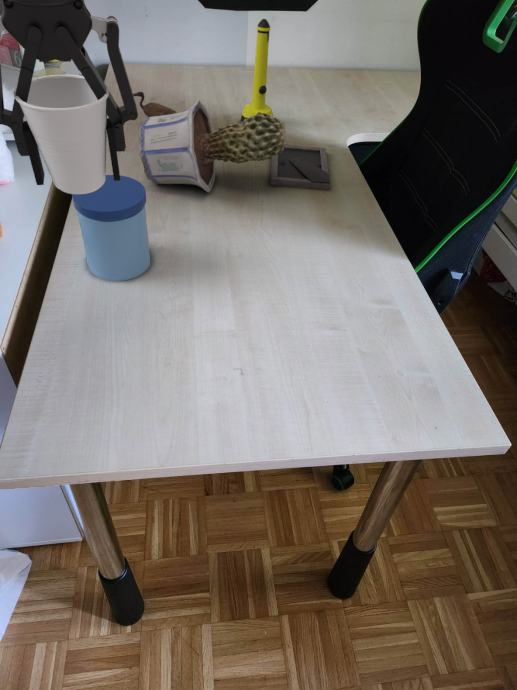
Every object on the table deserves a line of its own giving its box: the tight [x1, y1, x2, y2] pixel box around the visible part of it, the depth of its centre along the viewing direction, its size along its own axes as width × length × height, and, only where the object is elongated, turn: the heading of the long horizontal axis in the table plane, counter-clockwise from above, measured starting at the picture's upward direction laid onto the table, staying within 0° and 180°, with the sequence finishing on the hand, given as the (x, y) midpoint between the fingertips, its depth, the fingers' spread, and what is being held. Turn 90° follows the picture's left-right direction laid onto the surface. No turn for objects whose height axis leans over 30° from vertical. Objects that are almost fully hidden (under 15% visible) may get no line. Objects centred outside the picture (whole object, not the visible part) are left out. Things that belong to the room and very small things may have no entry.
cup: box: [13, 73, 110, 195], centre depth 60 cm, size 10×10×11 cm
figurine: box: [133, 91, 178, 118], centre depth 131 cm, size 14×4×9 cm, turn 95°
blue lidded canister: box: [71, 174, 151, 282], centre depth 89 cm, size 12×12×14 cm
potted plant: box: [138, 100, 286, 193], centre depth 109 cm, size 18×18×30 cm
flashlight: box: [240, 18, 274, 122], centre depth 130 cm, size 25×9×9 cm
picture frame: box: [270, 144, 331, 191], centre depth 123 cm, size 13×2×18 cm
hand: (79, 177), depth 63 cm, fingers closed on cup, 8 cm apart
